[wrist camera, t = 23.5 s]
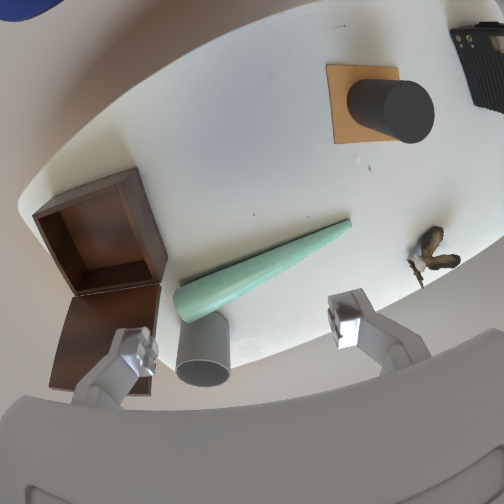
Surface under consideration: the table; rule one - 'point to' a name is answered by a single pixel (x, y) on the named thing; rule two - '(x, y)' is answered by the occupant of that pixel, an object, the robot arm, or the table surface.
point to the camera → (483, 62)
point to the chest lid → (102, 333)
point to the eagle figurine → (427, 259)
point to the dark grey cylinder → (392, 108)
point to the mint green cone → (247, 274)
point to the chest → (104, 235)
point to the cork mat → (338, 90)
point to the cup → (204, 351)
